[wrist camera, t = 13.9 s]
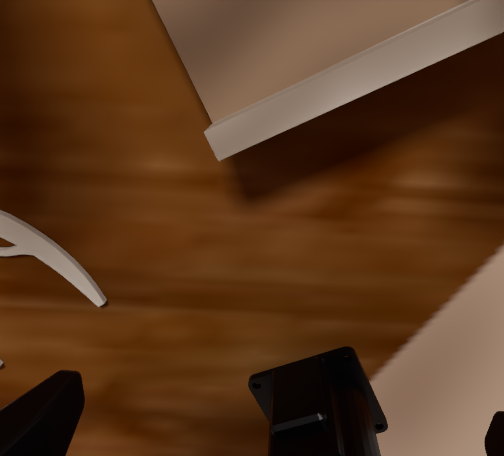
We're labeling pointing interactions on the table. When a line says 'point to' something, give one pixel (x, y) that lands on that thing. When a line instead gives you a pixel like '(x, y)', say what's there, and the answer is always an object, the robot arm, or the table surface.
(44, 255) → the pliers
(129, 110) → the table surface
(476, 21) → the board
